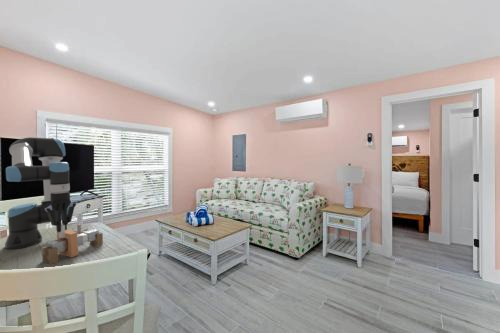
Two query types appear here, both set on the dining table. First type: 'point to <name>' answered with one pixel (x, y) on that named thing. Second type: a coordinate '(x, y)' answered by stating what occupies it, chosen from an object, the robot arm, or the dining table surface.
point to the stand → (52, 254)
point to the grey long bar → (84, 237)
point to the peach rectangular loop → (70, 243)
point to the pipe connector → (79, 229)
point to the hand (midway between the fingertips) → (62, 237)
